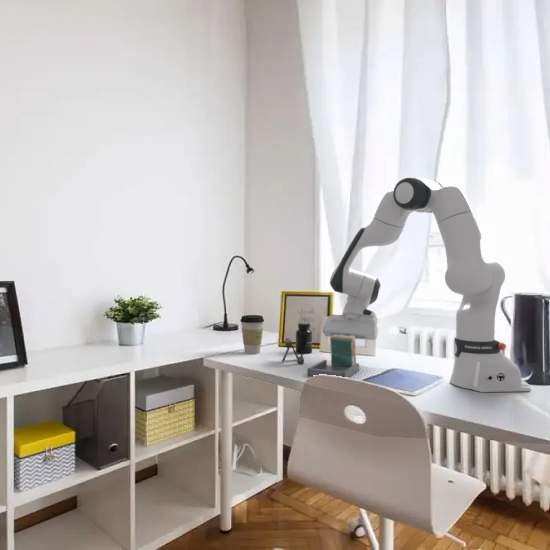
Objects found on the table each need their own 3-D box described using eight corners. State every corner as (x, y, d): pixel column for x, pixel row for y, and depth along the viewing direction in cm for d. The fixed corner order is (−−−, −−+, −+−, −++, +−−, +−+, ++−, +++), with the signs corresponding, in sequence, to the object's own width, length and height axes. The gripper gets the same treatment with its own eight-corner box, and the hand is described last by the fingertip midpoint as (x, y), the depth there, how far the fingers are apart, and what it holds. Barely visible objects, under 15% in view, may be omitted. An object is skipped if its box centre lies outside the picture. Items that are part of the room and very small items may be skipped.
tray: (359, 370, 169) (359, 363, 169) (344, 380, 156) (344, 373, 156) (324, 366, 175) (324, 359, 175) (307, 376, 162) (307, 368, 162)
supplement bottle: (311, 354, 196) (311, 324, 196) (294, 353, 198) (294, 324, 197) (313, 351, 203) (313, 322, 203) (297, 350, 205) (296, 322, 204)
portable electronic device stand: (303, 364, 179) (303, 342, 178) (282, 364, 179) (282, 342, 178) (302, 359, 187) (302, 338, 187) (281, 359, 187) (281, 338, 187)
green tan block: (335, 363, 178) (333, 334, 176) (356, 365, 174) (354, 336, 172) (331, 367, 175) (330, 337, 173) (352, 369, 171) (351, 339, 169)
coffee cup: (268, 353, 198) (268, 316, 198) (247, 356, 193) (246, 318, 193) (257, 349, 207) (257, 314, 206) (236, 351, 202) (236, 315, 201)
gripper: (326, 309, 186) (316, 338, 178) (378, 312, 177) (370, 343, 169) (330, 319, 191) (320, 348, 182) (381, 322, 181) (374, 353, 173)
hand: (345, 346), depth 175 cm, fingers closed
